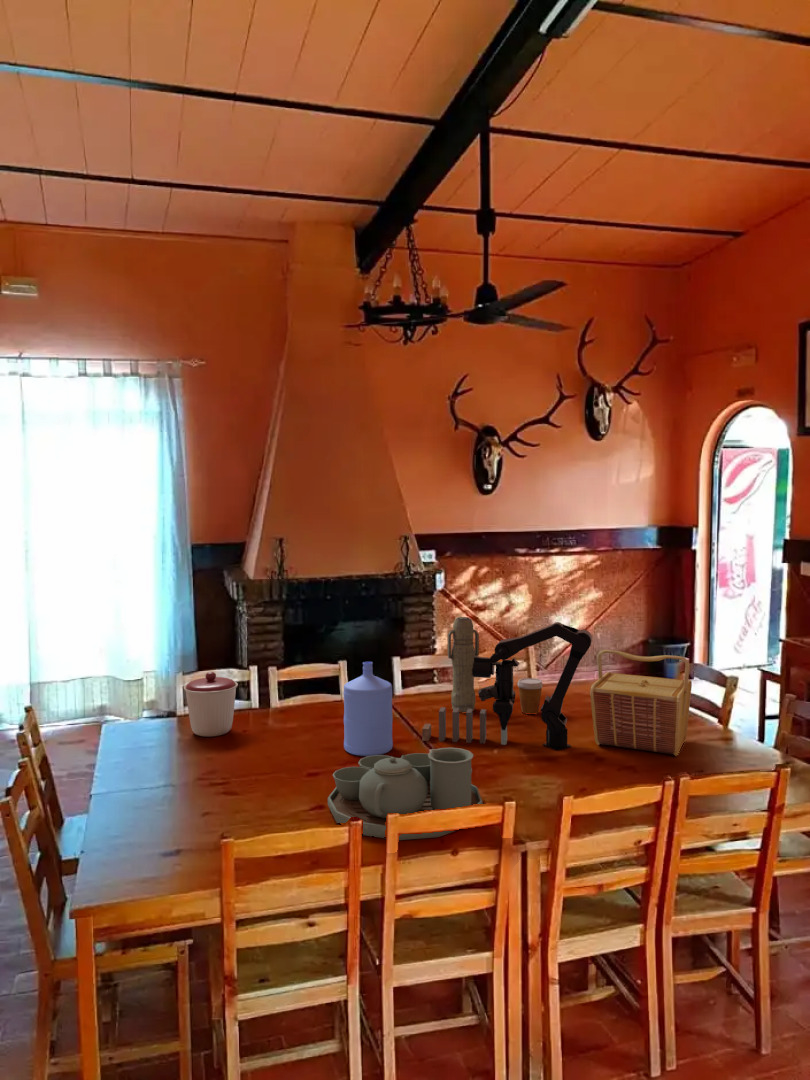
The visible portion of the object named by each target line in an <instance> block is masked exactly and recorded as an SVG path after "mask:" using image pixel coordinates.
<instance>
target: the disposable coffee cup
mask: <svg viewBox="0 0 810 1080" xmlns="http://www.w3.org/2000/svg"><path fill="white" fill-rule="evenodd" d="M516 685H517V687H518V692H519V693H518V694H519V695H518V696H519V701H520V710H521V711H522V712H524V713H531V714H532V713H538V712H539V711H540V705H541V697H542V689H543V686H544V684H543V680H541V679H539V678H533V677H532V678H531V677H524V678H520V679H518V682H517V684H516ZM522 712H521V713H522ZM539 713H540V712H539ZM539 713H538V714H539Z"/></svg>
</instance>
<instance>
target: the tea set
mask: <svg viewBox="0 0 810 1080" xmlns="http://www.w3.org/2000/svg"><path fill="white" fill-rule="evenodd" d="M473 758H474V753H472V752H471V751H470V750H468V749H464V748H458V747H439V748H436V749H435V748H431V749H429V752H428V753H426V752H425V753H424V752H422V753H419V752H417V753H416V752H415V753H408V754H402V755H401V757H394V756H392V755H391V756H390V755H386V754H385V755H384V754H381V755H373V756H364V757H362V758H360V759H359V761H358V766H347V767H342V768H340V769H337V770H335V771H334V772H333V774H332V777H333V779H334V783H335V788H334V789H333V791H332V792H331V793H330V794H329V796H328V797H327V806H328V808H329V810H330V812H331V815H332V816H333V819H334V820H335V822H336V824H337V823H346V822H347V821H348V820H349V819H350V818H351V817H358V818H360V819H362V820H363V835H362V836H366V837H372V836H374V838H379V839H380V838H381V839H385V838H384V837H385V830H386V825H385V822H386V816H387V814H388V813H399V814H407V813H414V812H418V811H424V810H435V809H447V808H455V807H463V806H469V805H473V804H484V803H483V802H484V801H483V798H482V795H481V794H480V791H479V788H478V786H476V785H474V784H472V773H473V768H472V759H473ZM454 832H455V831H443V832H433V833H422V834H401V835H400V836H399V840H398V841H403V840H404V841H405V840H420V839H428V838H429V839H433V838H440V837H442V836H445V835H448V834H450V833H454Z"/></svg>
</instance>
